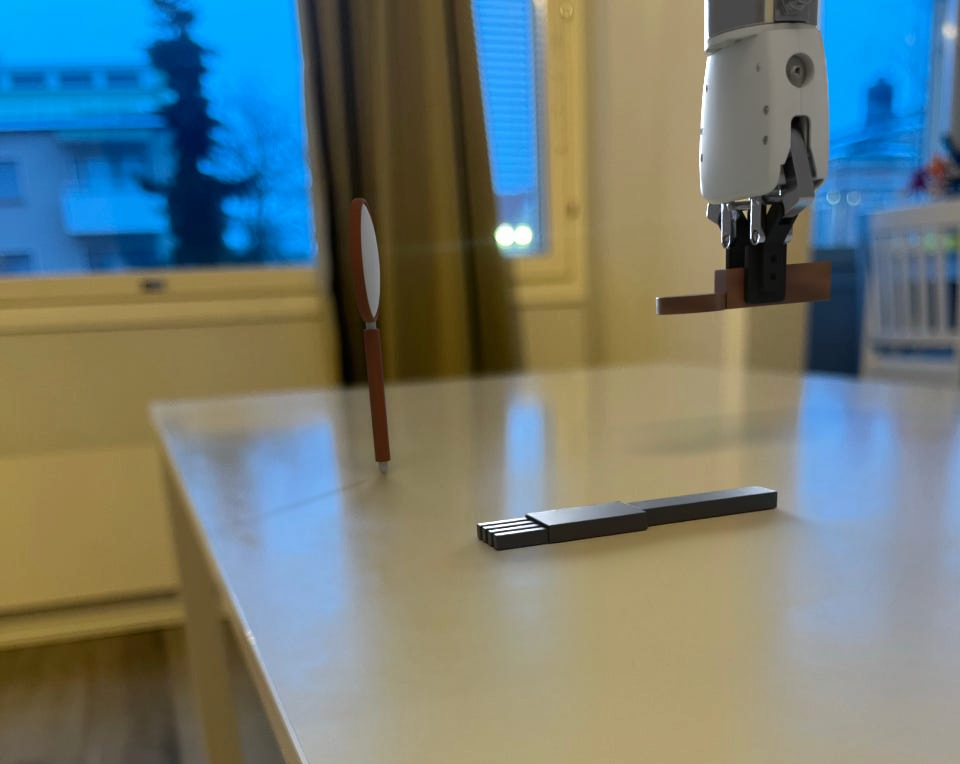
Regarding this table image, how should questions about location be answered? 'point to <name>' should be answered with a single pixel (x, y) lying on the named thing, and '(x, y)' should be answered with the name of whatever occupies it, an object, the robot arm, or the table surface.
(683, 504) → the fork
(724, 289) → the brown disc and block
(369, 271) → the magnifying glass
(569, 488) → the table surface
